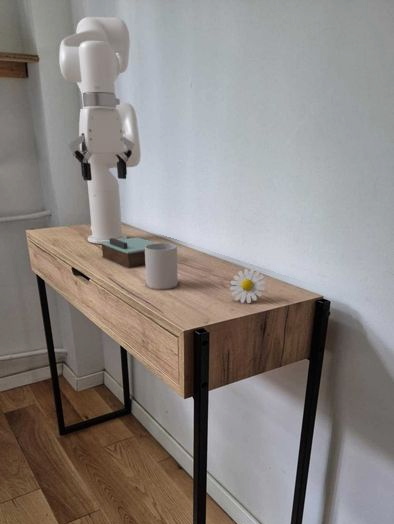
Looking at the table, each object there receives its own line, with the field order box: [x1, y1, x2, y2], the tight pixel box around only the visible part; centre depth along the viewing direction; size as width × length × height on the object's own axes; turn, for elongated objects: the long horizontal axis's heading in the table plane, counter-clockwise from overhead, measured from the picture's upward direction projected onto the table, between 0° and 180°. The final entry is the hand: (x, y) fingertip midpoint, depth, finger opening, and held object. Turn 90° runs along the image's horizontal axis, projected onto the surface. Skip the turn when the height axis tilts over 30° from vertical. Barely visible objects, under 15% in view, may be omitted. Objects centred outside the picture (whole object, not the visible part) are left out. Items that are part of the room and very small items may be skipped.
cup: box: [145, 242, 179, 290], centre depth 111 cm, size 7×10×9 cm
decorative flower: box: [229, 268, 267, 304], centre depth 105 cm, size 8×6×15 cm
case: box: [101, 244, 146, 269], centre depth 133 cm, size 15×12×4 cm
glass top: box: [101, 236, 156, 254], centre depth 132 cm, size 15×12×2 cm
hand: (105, 179), depth 121 cm, fingers open, 9 cm apart
